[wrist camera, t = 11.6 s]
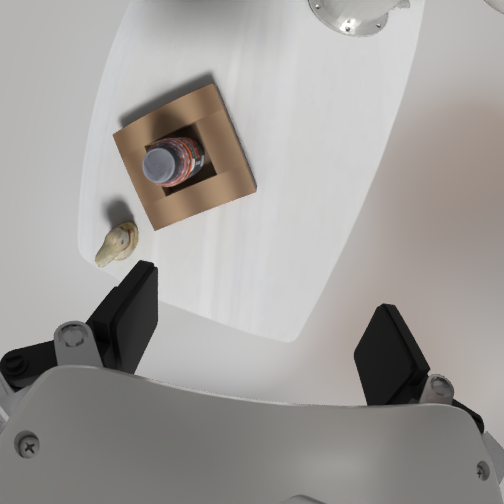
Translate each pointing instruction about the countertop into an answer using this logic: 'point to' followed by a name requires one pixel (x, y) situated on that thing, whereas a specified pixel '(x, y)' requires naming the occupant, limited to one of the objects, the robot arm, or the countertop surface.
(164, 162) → the supplement bottle
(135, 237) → the chocolate bunny
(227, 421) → the robot arm
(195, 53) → the countertop surface
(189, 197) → the socket block
